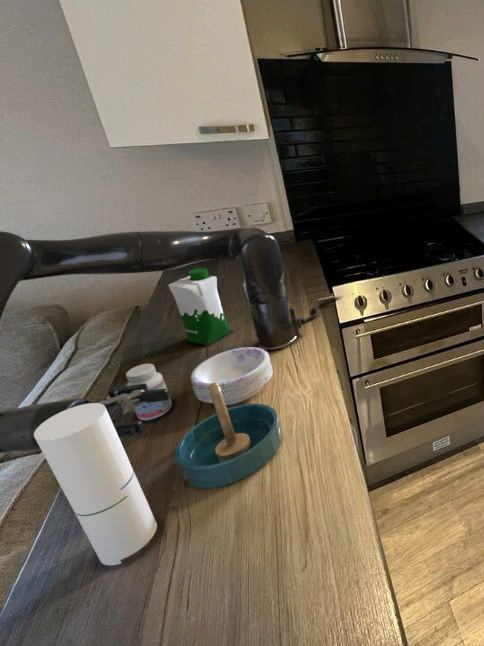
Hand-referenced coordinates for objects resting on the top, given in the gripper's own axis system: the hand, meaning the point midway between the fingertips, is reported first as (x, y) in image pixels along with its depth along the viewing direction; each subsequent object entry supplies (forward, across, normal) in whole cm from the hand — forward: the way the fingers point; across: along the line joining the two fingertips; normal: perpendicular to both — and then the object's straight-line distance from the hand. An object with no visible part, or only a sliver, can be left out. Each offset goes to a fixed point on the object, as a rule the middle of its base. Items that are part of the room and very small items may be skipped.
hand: (156, 409), depth 80 cm
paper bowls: (+4, +21, +14) cm, 25 cm away
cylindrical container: (0, -16, +14) cm, 21 cm away
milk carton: (-13, +49, +14) cm, 52 cm away
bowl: (+10, 0, +13) cm, 17 cm away
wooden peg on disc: (+10, 0, +13) cm, 16 cm away
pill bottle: (-12, +18, +14) cm, 25 cm away
